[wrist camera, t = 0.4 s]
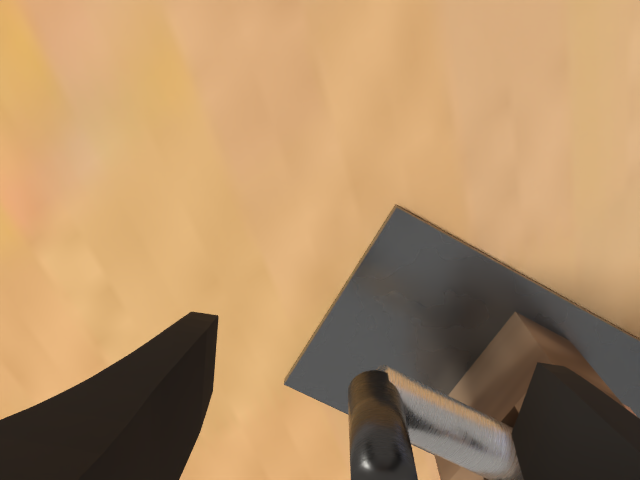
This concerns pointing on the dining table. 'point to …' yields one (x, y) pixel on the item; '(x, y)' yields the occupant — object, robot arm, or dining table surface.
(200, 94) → the dining table surface
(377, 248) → the base plate
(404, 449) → the crank handle
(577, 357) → the bearing block
